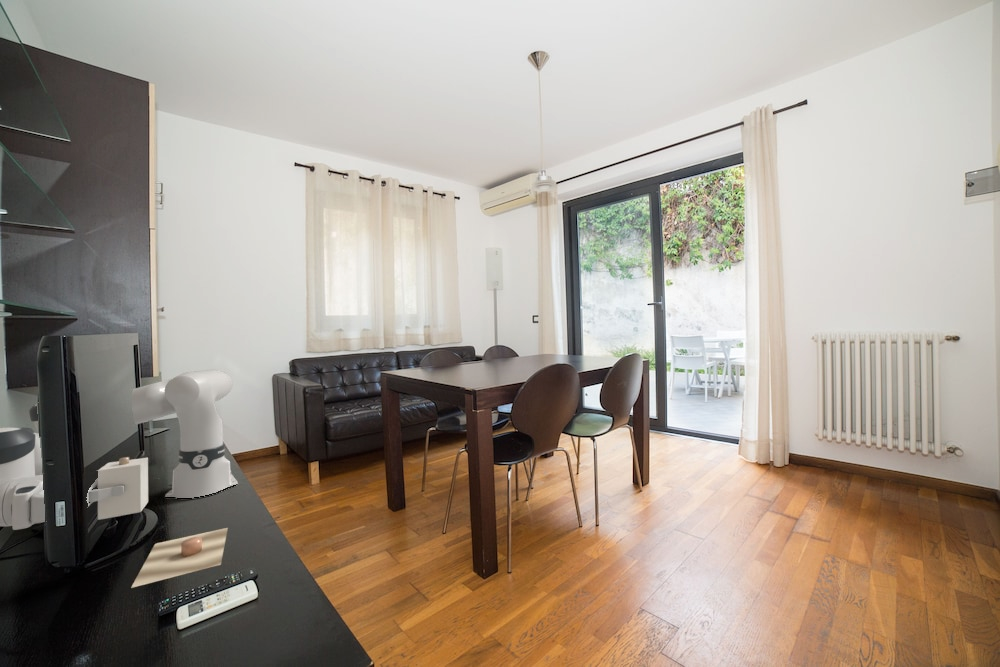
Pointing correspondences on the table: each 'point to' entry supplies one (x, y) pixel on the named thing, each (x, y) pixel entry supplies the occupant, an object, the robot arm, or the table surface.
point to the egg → (191, 546)
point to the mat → (181, 558)
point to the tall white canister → (135, 487)
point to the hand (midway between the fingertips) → (129, 483)
